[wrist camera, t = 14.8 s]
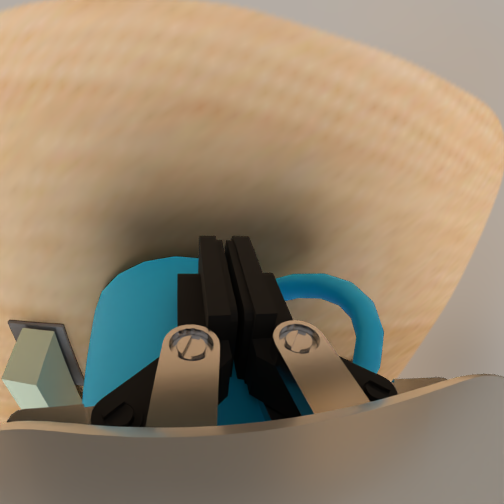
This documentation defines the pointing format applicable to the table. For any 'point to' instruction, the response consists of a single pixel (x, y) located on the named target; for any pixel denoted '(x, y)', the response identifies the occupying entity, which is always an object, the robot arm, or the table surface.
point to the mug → (165, 319)
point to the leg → (39, 372)
